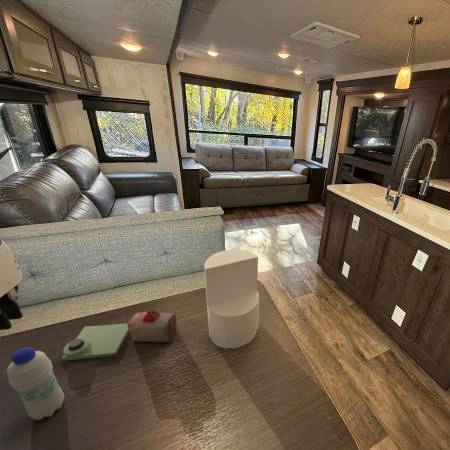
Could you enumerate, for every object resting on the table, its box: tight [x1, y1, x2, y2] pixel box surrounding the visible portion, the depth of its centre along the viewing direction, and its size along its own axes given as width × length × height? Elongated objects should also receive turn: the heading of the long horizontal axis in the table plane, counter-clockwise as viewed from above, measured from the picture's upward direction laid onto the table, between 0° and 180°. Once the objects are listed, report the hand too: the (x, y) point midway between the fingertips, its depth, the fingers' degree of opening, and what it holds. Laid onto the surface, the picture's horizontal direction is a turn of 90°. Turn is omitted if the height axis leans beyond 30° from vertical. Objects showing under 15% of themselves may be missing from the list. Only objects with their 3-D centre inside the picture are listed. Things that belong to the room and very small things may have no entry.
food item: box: [126, 307, 178, 344], centre depth 82 cm, size 14×8×10 cm, turn 92°
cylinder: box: [203, 249, 260, 349], centre depth 84 cm, size 17×17×28 cm
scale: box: [61, 322, 130, 362], centre depth 79 cm, size 14×12×3 cm
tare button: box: [69, 338, 83, 351], centre depth 74 cm, size 3×3×2 cm
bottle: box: [6, 346, 65, 421], centre depth 57 cm, size 7×7×20 cm
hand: (7, 323), depth 50 cm, fingers closed
